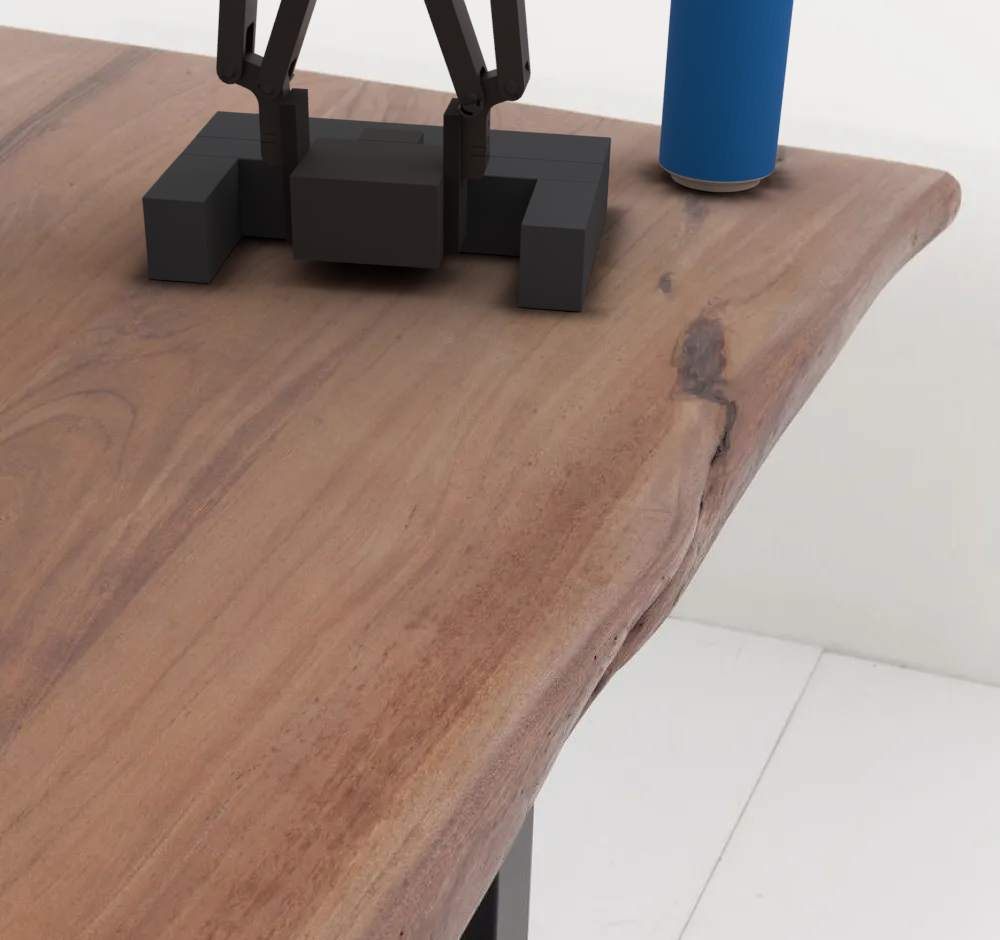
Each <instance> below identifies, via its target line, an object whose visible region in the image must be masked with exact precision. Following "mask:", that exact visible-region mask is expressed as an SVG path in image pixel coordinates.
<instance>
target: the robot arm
mask: <svg viewBox="0 0 1000 940" xmlns="http://www.w3.org/2000/svg"><path fill="white" fill-rule="evenodd" d="M317 1H318V0H280V1H279V6H278V10H277V12H276V16H275V19H274V22H273V25H272V28H271V31H270V35H269V37H268V41H267V45H266V48H265V51H264V54H263V56H262V55H260V54H258V53H256V52H255V51H256V50H255V48H256V35H257V34H256V33H257V20H258V19H257V17H258V0H219V2H218V3H219V5H218V7H219V8H218V23H217V24H218V25H217V44H216V46H217V47H216V65H215V70H216V71H215V72H216V75H217V77H218V80H220V81H221V82H222V83H224V84H226V85H234V84H235V85H237V86H240V87H242V88H244V89H246V90H248V91H250V92H251V93H252V94H253V95H254V97H255V98H256V101H257V105H258V114H259V124H260V142H261V156H262V159H263V161H264V163H265V166H271V167H282V172H283V194H284V216H285V239H284V240H285V242H290V243H293V242H292V220H291V198H290V175H291V174H292V172H293V171H294V169H295V168H296V166H297V165H298V164H299V163H300V161H301V160H302V158H303V157H304V155H305V154H306V153H307V151H308V150H309V148H310V133H309V117H310V107H309V89H308V88H299V87H292V88H291V82H292V80H293V79H294V77H295V74H294V72H295V69H296V66H297V63H298V60H299V57H300V53H301V51H302V47H303V45H304V42H305V39H306V35H307V31H308V29H309V25H310V22H311V20H312V16H313V13H314V10H315V7H316V4H317ZM489 2H490V4H489V5H490V15H491V24H492V26H491V27H492V37H493V47H494V57H495V68H494V69H492V70H488V68H487V64H486V61H485V58H484V55H483V52H482V49H481V46H480V43H479V40H478V38H477V34H476V32H475V28H474V26H473V22H472V19H471V17H470V13H469V11H468V7H467V4H466V1H465V0H423V3H424V5H425V9H426V11H427V13H428V17H429V19H430V22H431V25H432V28H433V31H434V34H435V36H436V39H437V43H438V46H439V49H440V50H441V55H442V57H443V60H444V63H445V65H446V69H447V71H448V74H449V77H450V80H451V84H452V86H453V88H454V92H455V95H456V97H451V100H450V102H449V103H448V105H447V107H446V109H445V111H444V113H443V115H442V116H443V117H442V119H443V120H442V122H443V125H442V126H443V175H444V252H445V253H446V254H447V253H449V254H460V252H459V251H460V248H461V246H462V244H463V241H464V239H465V237H466V234H467V179H473V180H481V179H482V177H483V175H484V172H485V170H486V168H487V165H488V163H489V161H490V129H491V111H492V108H493V107H494V106H496V105H499V104H502V103H505V102H516V101H519V100H520V99H521V98H522V97H523V95H524V94H525V91H526V89H527V87H528V84H529V82H530V80H531V75H532V69H531V58H530V57H531V56H530V47H529V36H528V23H527V13H526V12H527V11H526V0H489Z"/></svg>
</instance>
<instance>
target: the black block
mask: <svg viewBox="0 0 1000 940" xmlns="http://www.w3.org/2000/svg"><path fill="white" fill-rule="evenodd" d="M290 198H291V220H292V242H291V243H292V259H293V260H300V261H301V260H302V261H313V262H314V261H316V262H331V263H342V264H343V263H345V264H359V265H373V266H387V267H389V266H390V267H401V268H402V267H403V268H404V267H405V268H417V269H418V268H420V269H433V270H434V269H435V270H438V269H439V267H440V265H441V263H442V260H443V259H444V256H445V254H446V252H444V175H443V145H433V144H424V133H423V132H422V131H409V130H392V129H376V128H365V129H364V130H363V132H362V133H361V135H360V136H359V138H358V140H352V139H335V138H319V137H317V138H316V139H315V141H314V142H313V144H312V145H311V146H310V148H309V150H308V151H307V153H306V154H305V155H304V157H303V158H302V160H301V161H300V163H299V164H298V165H297V166H296V168H295V169H294V171H293V172H292V174H291V175H290Z"/></svg>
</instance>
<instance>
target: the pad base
mask: <svg viewBox="0 0 1000 940" xmlns="http://www.w3.org/2000/svg"><path fill="white" fill-rule="evenodd" d="M365 128H376V129H392V130H409V131H422V132H423V133H424V144H433V145H443V125H432V124H431V125H430V124H415V123H401V122H388V121H387V122H386V121H385V122H384V121H373V120H371V121H369V120H356V119H355V120H354V119H344V118H343V119H342V118H341V119H340V118H327V117H326V118H325V117H324V118H323V117H312V116H311V117H310V116H309V133H310V146H311V145H312V144H313V142H314V141H315V139H316V138H317V137H319V138H335V139H352V140H358V138H359V136H360V135H361V133H362V132H363V130H364V129H365ZM611 147H612V137H609V136H594V135H579V134H566V133H565V134H564V133H552V132H550V133H549V132H537V131H521V130H520V131H519V130H506V129H505V130H504V129H491V128H490V161H489V163H488V165H487V168H486V170H485V172H484V175H483V177H482V179H481V180H473V179H467V234H466V237H465V239H464V241H463V244H462V246H461V248H460V251H459V253H467V254H481V255H482V254H483V255H494V256H495V255H496V256H511V257H519V269H518V270H519V271H518V273H519V274H518V301H517V303H518V308H526V309H527V308H528V309H541V310H554V311H569V312H582V309H583V305H584V302H585V298H586V294H587V290H588V286H589V282H590V278H591V275H592V271H593V266H594V263H595V260H596V255H597V251H598V247H599V243H600V240H601V236H602V232H603V228H604V224H605V221H606V217H607V212H608V200H609V199H608V198H609V184H610V183H609V182H610V180H609V179H610V164H611ZM141 202H142V212H143V225H144V236H145V248H146V249H145V250H146V259H147V271H148V279H149V280H159V281H172V282H173V281H174V282H185V283H186V282H187V283H197V284H198V283H199V284H210V283H211V281H212V280H213V279H214V277H215V276H216V274H217V273H218V272H219V270H220V268H221V267H222V265H223V264H224V263H225V262H226V260H227V259H228V257H229V256H230V254H231V253H232V251H233V250H234V249H235V247H236V246H237V244H238V243H239V241H240V240H241V239H242V238H243V237H250V238H251V237H252V238H253V237H254V238H267V239H268V238H269V239H278V240H279V239H280V240H286V239H285V216H284V194H283V172H282V167H271V166H265V163H264V161H263V159H262V156H261V142H260V124H259V113H254V112H253V113H252V112H240V111H239V112H237V111H225V110H224V111H223V110H222V111H221V110H217V111H216V112H215V113H214V115H213V116H211V118H210V119H209V120H208V121H207V123H206V124H205V125H204V126H203V127H202V128H201V129H200V131H199V132H198V133H197V134H196V135H195V137H194V138H193V139H192V140H191V142H189V144H188V145H187V146H186V147H185V148H184V149H183V151H182V152H181V153H180V154H179V155H178V156H177V157H176V158H175V159H174V160H173V161H172V163H171V164H170V165H169V166H168V167H167V168H166V170H164V172H163V173H162V174H161V175H160V177H158V179H157V180H156V181H155V182H154V183H153V185H152V186H151V187H150V188H149V189H148V191H146V193H145V194H144V195H143V196H142V197H141Z"/></svg>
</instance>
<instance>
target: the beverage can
mask: <svg viewBox="0 0 1000 940" xmlns="http://www.w3.org/2000/svg"><path fill="white" fill-rule="evenodd" d="M794 2H795V1H794V0H670V8H669V17H668V19H669V20H668V33H667V45H666V58H665V59H666V60H665V70H664V71H665V72H664V83H663V84H664V86H663V88H664V89H663V100H662V111H661V124H660V125H661V127H660V136H659V137H660V140H659V151H658V152H659V153H658V164H659V165H660V167H661V168H662V169H663V170H665V172H667V173H669V174H670V177H671V179H672V180H673V181H674V182H676V184H679V185H681V186H683V187H686V188H689V189H693V190H697V191H703V192H712V193H734V192H735V193H736V192H741V191H747V190H750V189H753V188H754V187H756V186H758V185H759V184H760V182H761V180H763V179H765V178H767V177H769V176H771V174H773V173H774V171H775V169H776V161H777V154H778V143H779V136H780V135H779V134H780V126H781V116H782V108H783V107H782V106H783V98H784V90H785V81H786V73H787V72H786V71H787V63H788V54H789V46H790V35H791V26H792V18H793V9H794Z"/></svg>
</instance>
